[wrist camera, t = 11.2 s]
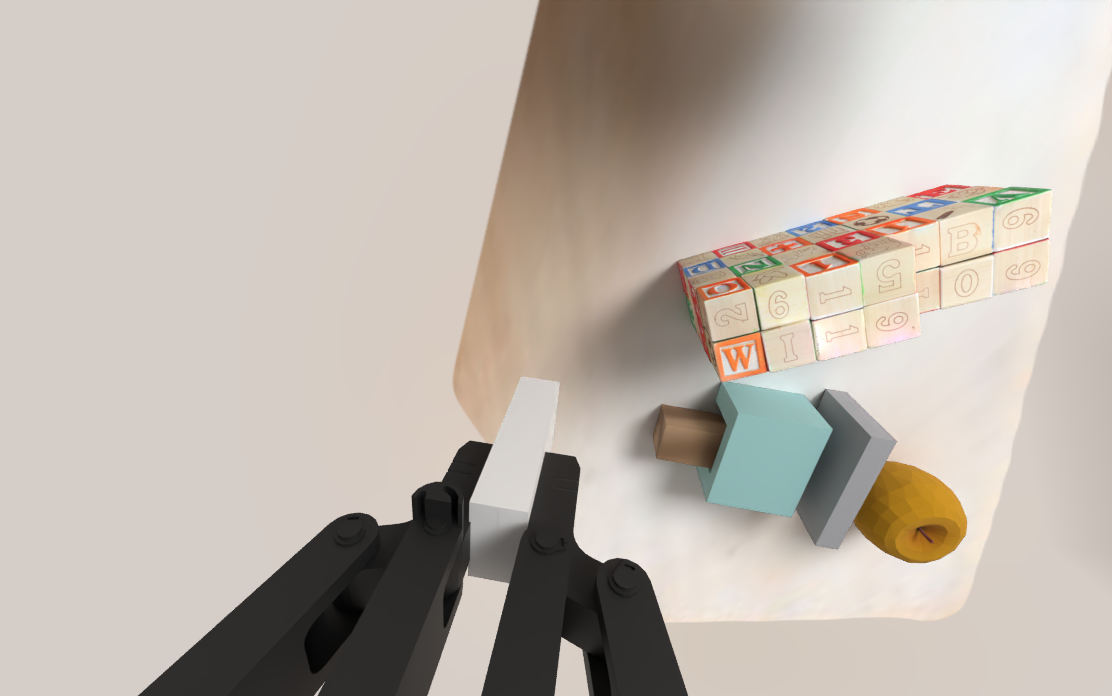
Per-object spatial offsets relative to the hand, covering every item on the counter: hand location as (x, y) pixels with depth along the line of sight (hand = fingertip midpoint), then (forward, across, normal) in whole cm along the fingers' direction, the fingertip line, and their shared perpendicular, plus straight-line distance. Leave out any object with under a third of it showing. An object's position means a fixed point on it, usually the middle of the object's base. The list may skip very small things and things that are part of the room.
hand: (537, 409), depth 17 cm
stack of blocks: (+26, +19, +2) cm, 32 cm away
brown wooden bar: (+25, +15, -16) cm, 33 cm away
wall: (+25, +26, -16) cm, 39 cm away
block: (+25, +19, -16) cm, 35 cm away
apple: (+26, +33, -19) cm, 46 cm away
